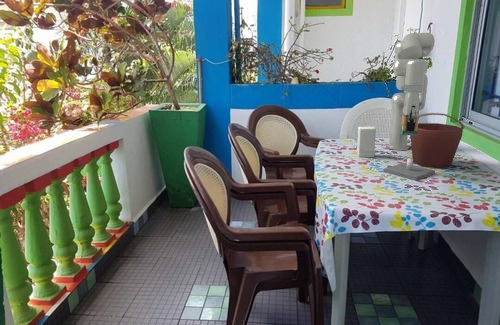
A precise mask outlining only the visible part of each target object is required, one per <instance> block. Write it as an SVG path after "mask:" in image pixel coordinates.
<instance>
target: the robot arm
mask: <svg viewBox="0 0 500 325" xmlns="http://www.w3.org/2000/svg"><path fill="white" fill-rule="evenodd" d="M434 47H435V37H434V34H432V33H431V32H412V33H410V32H409V33H407V34H406V35H405V36H404V37H403V39H402V40H401V41H398V42H396V43H395V44H394V54H395V56H394V58H393V64H392V66H393V67H392V70H393V74H394V75H395V76H396V81H395V86H396V89H397V90H399V91H403V92H398V93H394V94H393V95H392V97H391V120H390V122H391V123H390V132H389V141H388V142H389V143H388V144H386V145H385V147H386V148H387V149H389V150H395V151H408V150H409V149H410V146H409V145H408V144H411V139H408V138H409V137H408V136H409V135H402V134H401V133H400V131H401V122H402V115H406V116H407V115H408V122H407V129H406V131H414V128H415V116H417V115H419V114H418V113H419V111H423V109H424V108H425V106H426V100H427V92H428V80H429V79H428V76H427V74H426V73H427V72H428V67H429V65H428V62H427V61H426V60H425V59H420V58H427V57H429V56H430V54H431V53H432V51H433V49H434Z"/></svg>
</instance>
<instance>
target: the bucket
mask: <svg viewBox="0 0 500 325" xmlns="http://www.w3.org/2000/svg"><path fill="white" fill-rule="evenodd" d="M432 115H433V116H445V117H447V118H450V119H452V120H454V121H456V122H457V123H458V124H459V125H460V126H461V127H459V126H458V125H453V124H444V123H439V122H433V123H431V122H426V123H425V122H422V123H421V122H418V129H417V136H415V135H409V138H410V146H411V156H412V157H411V159H413V164H414V165H416V166H417V165H418V167H422V168H427V169H438V170H439V169H440V170H441V169H446V168H450V167H451V166H452V164H453V161H454V158H455V156H456V154H457V151H458V148H459V145H460V142H461V140H462V139H463V133H464V131H463V130H464V129H465V127H466V126H465V125H464V123H462V122H461V120H459V119H457V118H455V117H453V116H451V115H449V114H446V113H439V112H428V113H419V114H417V115H416V116H418V117H419V118H420V117H425V116H426V117H427V116H432Z"/></svg>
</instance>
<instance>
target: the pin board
mask: <svg viewBox="0 0 500 325" xmlns="http://www.w3.org/2000/svg"><path fill="white" fill-rule="evenodd" d="M406 160H407V161H406V163H405V162H401V163H399V164H398V163H397V164H396V165H392V166H389V167H385V168H383V169H382V172H383V173H386V174H390V175H394V176H397V177H400V178H401V177H402V178H406V179H409V180H412V181H418V180H421V179H423V178H426V177H430V176H432V175H435V174H436V170H434V169H432V168H428V167H421V166H419V165H418V166H417V165H415V164H414V163H413V158H412V157H411V158H407V159H406ZM413 164H414V165H413Z"/></svg>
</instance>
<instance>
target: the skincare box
mask: <svg viewBox="0 0 500 325" xmlns="http://www.w3.org/2000/svg"><path fill="white" fill-rule="evenodd" d="M357 129H358V130H357V144H356V146H357V147H356V155H357V157H358V158H375V149H376V148H375V147H376V133H377V132H376V131H377V129H376V127H375V126H358V128H357Z"/></svg>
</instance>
